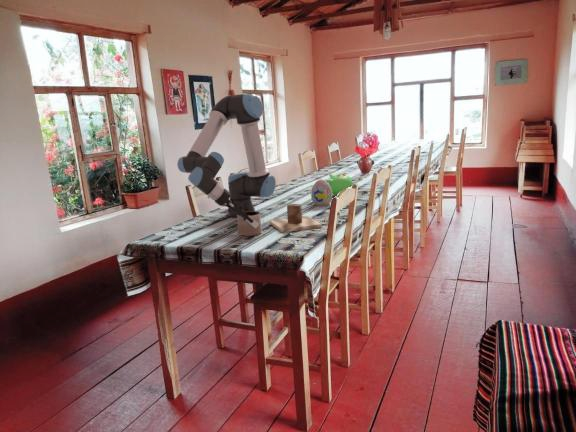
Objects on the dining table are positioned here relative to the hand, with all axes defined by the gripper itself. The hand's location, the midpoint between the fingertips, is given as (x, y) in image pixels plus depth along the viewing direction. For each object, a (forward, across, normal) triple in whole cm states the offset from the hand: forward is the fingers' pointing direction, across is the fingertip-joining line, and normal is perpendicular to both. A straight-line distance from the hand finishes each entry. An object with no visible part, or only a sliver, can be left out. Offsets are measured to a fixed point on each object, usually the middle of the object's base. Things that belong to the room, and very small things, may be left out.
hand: (253, 222), depth 214 cm
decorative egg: (+40, -42, +33) cm, 67 cm away
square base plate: (+19, -4, +12) cm, 22 cm away
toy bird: (+54, -60, +48) cm, 94 cm away
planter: (+2, 0, -5) cm, 5 cm away
